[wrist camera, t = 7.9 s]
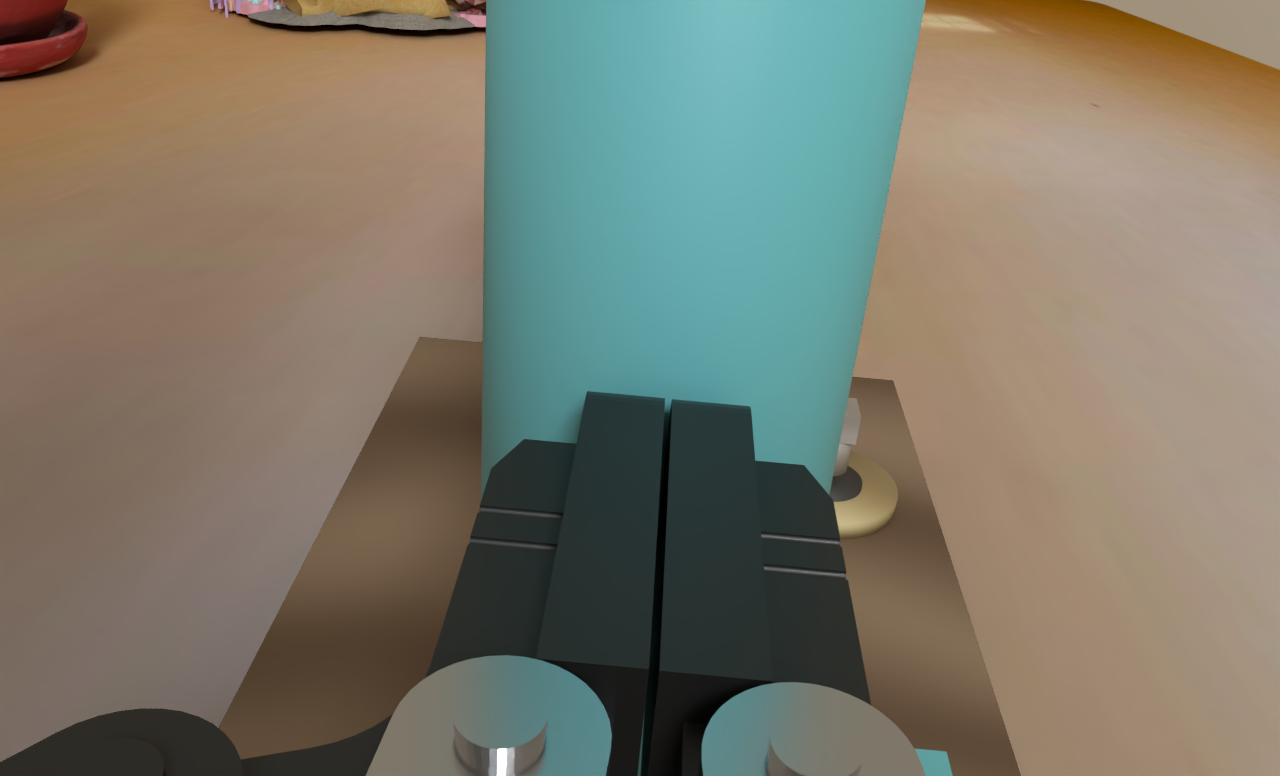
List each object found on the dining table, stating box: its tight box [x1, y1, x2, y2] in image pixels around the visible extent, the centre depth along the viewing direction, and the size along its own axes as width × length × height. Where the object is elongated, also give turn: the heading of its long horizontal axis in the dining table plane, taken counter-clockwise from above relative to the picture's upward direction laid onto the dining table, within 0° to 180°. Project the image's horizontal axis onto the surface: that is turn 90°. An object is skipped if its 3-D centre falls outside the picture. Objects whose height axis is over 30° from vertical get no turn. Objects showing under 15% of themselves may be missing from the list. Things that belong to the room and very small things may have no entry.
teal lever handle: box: [481, 0, 953, 776], centre depth 12 cm, size 4×6×16 cm, turn 87°
